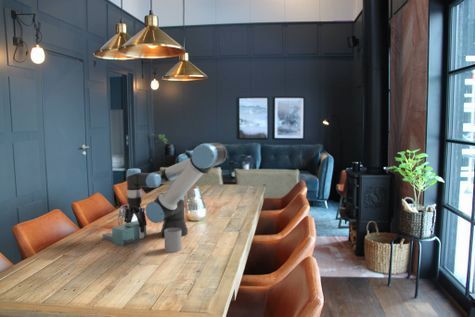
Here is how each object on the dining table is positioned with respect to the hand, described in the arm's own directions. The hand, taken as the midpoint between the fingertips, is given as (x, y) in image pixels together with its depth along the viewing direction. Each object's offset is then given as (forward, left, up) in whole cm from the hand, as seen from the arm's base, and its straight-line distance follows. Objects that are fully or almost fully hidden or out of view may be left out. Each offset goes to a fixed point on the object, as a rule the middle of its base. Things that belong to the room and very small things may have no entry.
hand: (135, 236), depth 223 cm
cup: (-33, +3, 0) cm, 33 cm away
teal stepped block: (+2, +11, 0) cm, 11 cm away
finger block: (0, 0, 0) cm, 0 cm away
